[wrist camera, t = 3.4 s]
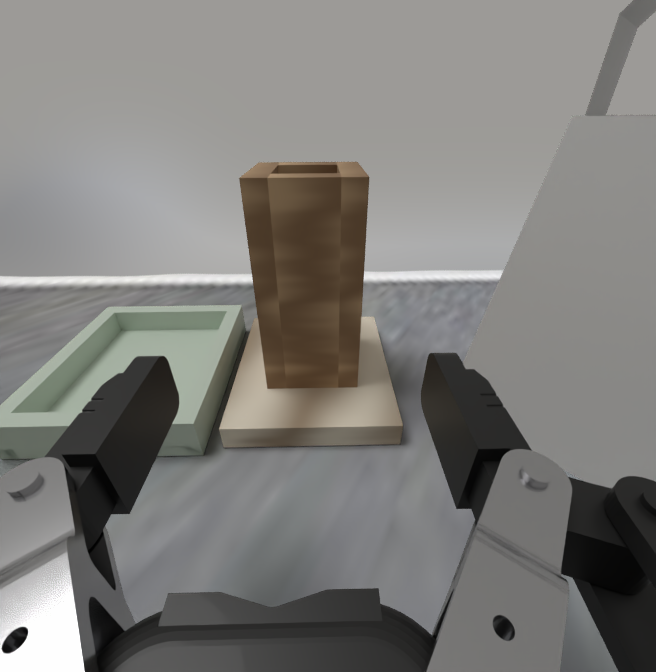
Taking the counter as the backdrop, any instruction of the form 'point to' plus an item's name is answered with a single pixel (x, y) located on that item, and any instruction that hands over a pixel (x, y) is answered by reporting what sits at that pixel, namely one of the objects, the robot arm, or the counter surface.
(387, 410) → the stake board
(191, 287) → the counter surface
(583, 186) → the grater
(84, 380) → the tray
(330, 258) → the sleeve
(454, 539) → the counter surface
